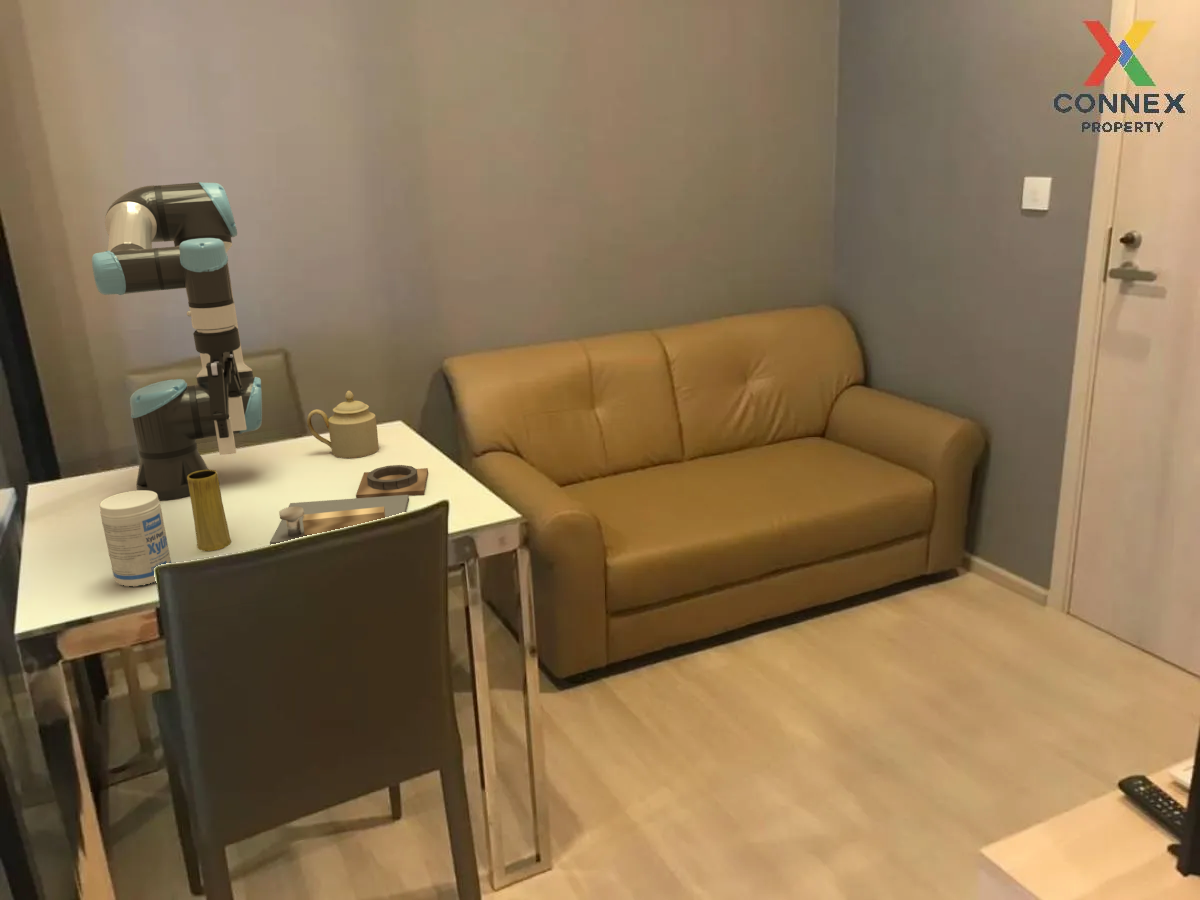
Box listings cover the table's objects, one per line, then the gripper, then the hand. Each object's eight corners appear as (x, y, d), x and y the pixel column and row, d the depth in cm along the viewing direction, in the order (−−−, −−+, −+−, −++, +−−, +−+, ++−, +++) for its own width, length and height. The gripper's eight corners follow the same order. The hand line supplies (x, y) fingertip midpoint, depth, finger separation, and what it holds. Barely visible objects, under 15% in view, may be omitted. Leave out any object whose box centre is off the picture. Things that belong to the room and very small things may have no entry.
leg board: (270, 547, 188) (269, 542, 187) (291, 507, 206) (290, 503, 206) (400, 537, 190) (399, 532, 189) (408, 499, 208) (408, 494, 208)
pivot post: (287, 537, 189) (284, 519, 188) (289, 532, 191) (286, 514, 190) (300, 536, 189) (297, 518, 188) (302, 531, 192) (299, 513, 190)
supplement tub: (168, 584, 174) (152, 505, 169) (109, 592, 172) (92, 512, 167) (177, 561, 183) (162, 486, 178) (121, 568, 181) (105, 492, 176)
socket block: (356, 499, 209) (354, 486, 209) (364, 476, 223) (363, 464, 222) (424, 494, 211) (422, 482, 210) (428, 472, 224) (427, 460, 223)
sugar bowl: (326, 465, 231) (318, 402, 226) (309, 454, 239) (301, 393, 235) (386, 451, 239) (380, 390, 234) (368, 440, 247) (361, 381, 243)
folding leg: (281, 539, 188) (277, 516, 186) (283, 530, 192) (280, 507, 191) (385, 528, 191) (382, 505, 190) (385, 519, 195) (383, 497, 194)
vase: (237, 538, 192) (225, 468, 187) (222, 552, 186) (210, 479, 182) (206, 538, 193) (194, 468, 188) (191, 551, 187) (178, 480, 182)
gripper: (205, 315, 189) (223, 422, 196) (179, 345, 166) (200, 466, 173) (246, 312, 190) (263, 419, 197) (226, 342, 167) (245, 462, 174)
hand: (233, 441), depth 185 cm, fingers open, 13 cm apart
